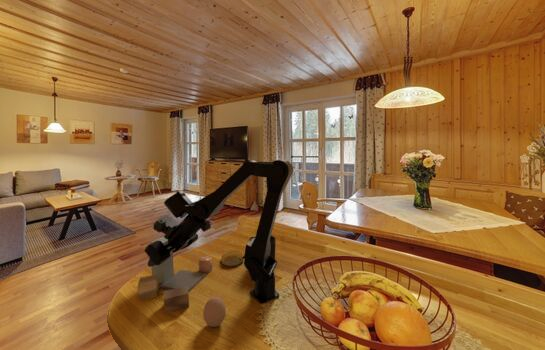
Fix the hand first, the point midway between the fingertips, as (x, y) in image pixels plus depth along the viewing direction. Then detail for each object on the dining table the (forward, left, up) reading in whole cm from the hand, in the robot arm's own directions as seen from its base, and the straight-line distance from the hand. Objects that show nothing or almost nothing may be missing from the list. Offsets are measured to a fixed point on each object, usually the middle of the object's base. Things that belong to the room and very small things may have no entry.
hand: (159, 258), depth 76 cm
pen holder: (-12, -32, -7) cm, 35 cm away
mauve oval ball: (-30, -7, -7) cm, 32 cm away
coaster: (-6, -6, -7) cm, 11 cm away
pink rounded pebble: (-3, -14, -7) cm, 16 cm away
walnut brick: (-17, -1, -7) cm, 19 cm away
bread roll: (-2, -25, -7) cm, 26 cm away
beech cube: (-7, +4, -7) cm, 11 cm away
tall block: (-1, -1, -7) cm, 7 cm away
